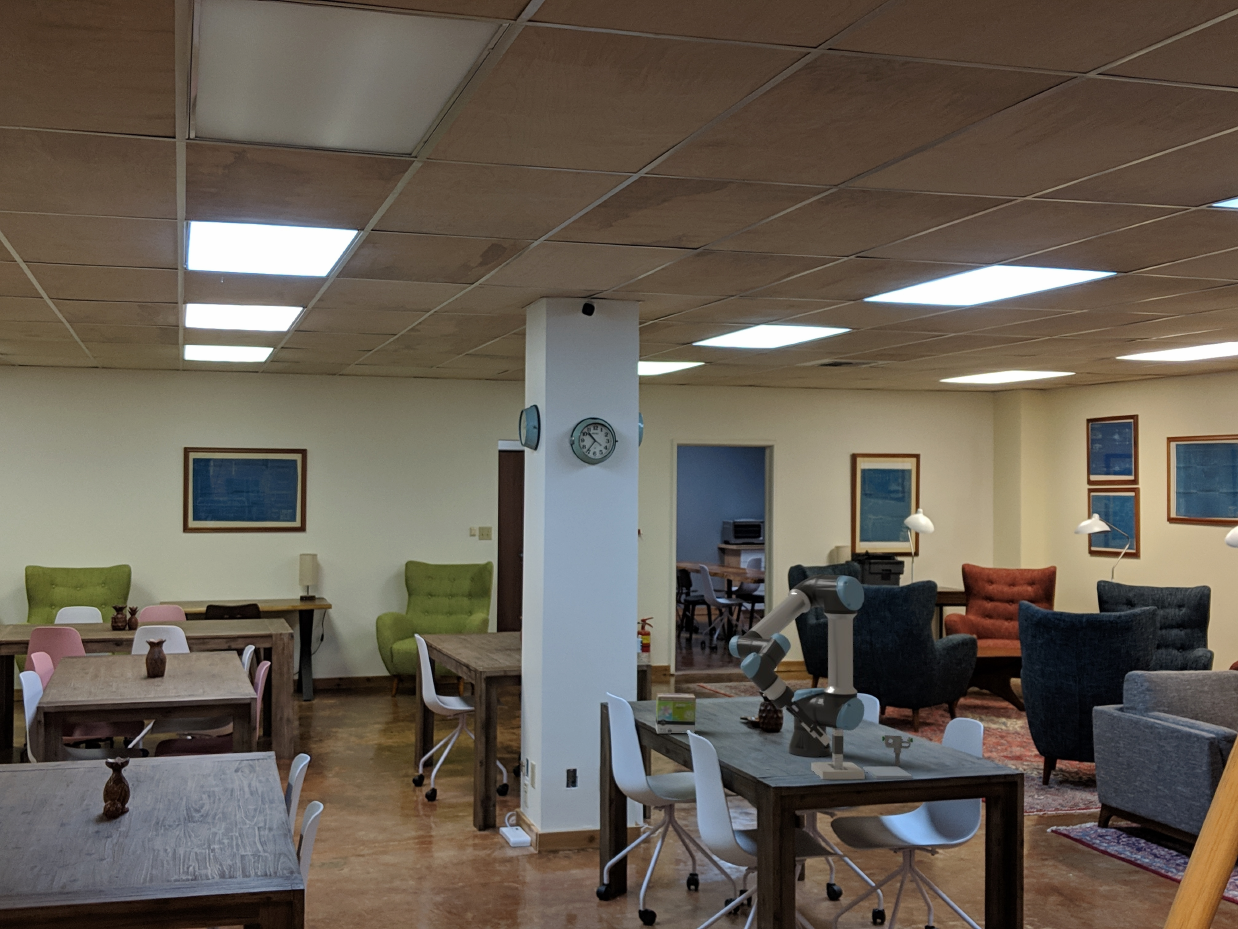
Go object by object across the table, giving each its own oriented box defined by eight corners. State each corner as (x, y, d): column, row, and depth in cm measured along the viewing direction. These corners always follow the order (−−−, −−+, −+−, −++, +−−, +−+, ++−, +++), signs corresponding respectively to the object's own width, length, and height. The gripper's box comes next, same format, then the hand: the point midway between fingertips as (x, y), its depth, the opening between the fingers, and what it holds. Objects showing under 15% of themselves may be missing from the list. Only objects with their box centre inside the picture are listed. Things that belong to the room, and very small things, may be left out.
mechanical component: (912, 767, 397) (912, 738, 398) (882, 765, 400) (882, 736, 400) (912, 765, 400) (912, 736, 401) (882, 764, 402) (882, 735, 403)
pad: (863, 769, 393) (863, 766, 393) (897, 769, 394) (897, 766, 394) (876, 779, 379) (876, 776, 379) (912, 778, 380) (912, 775, 380)
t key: (829, 772, 388) (829, 727, 389) (838, 772, 389) (839, 726, 389) (836, 777, 380) (836, 731, 381) (845, 777, 381) (846, 731, 381)
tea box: (657, 734, 451) (657, 696, 452) (655, 729, 461) (655, 692, 462) (695, 734, 451) (696, 696, 452) (693, 730, 461) (693, 692, 462)
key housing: (811, 770, 391) (811, 762, 391) (851, 769, 392) (851, 762, 392) (822, 779, 377) (822, 771, 377) (864, 779, 378) (864, 771, 378)
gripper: (762, 695, 395) (805, 739, 396) (779, 707, 370) (824, 754, 371) (777, 679, 396) (820, 724, 397) (795, 690, 371) (841, 737, 372)
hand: (822, 738), depth 384 cm, fingers open, 13 cm apart
